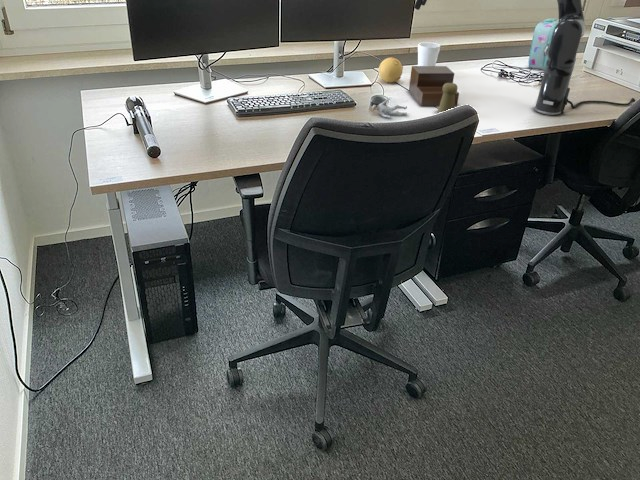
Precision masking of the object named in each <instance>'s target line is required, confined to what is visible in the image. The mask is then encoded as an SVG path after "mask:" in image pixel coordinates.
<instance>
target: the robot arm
mask: <svg viewBox="0 0 640 480" xmlns="http://www.w3.org/2000/svg"><path fill="white" fill-rule="evenodd" d="M427 1H428V0H416V1H415V4H414V6H413V9H415V10H417V11H418V10H420V9H421V7H422V6H423V7H424V6H425V5H426V4H427ZM556 3H557V8H558V9H557V10H558V19H559V22H558V24H557V25H556V27H555V29H554V31H553V35H552V39H551V43H550V47H549V51H548V60H547V64H546V68H545V70H544V72H543V76H542V79H541V84H540V88H539V91H538V96H537V99H536V102H535V105H534V111H535V112H536V113H539V114H542V115H547V116H558V115H562V114H564V111H565V108H566V106H567V105H568V104H570V107H571V108H572V109H577V108H578V107H579V106H581V105H582V104H591V103H592V104H608V105H613V106H621V107H622V106H625V107H626V106H629V105H632V103H633V102H635V101H636V99H635V98H634V97H632V98H631V99H630V101H628V102H625V103H624V102H623V103H621V102H615V101H614V102H613V101H609V100H608V101H607V100H582V101H579V102H577V103H576V104H575V105H574V103H573V101H571V100H569V98H568V97H569V94H570V91H571V88H570V87H569V85H570V82H571V78H572V75H573V72H574V68H575V64H576V61H577V54H578V49H579V46H580V43H581V39H582V38H583V37H584V35H585V33H586V21H585V16H584V11H583V4H582V0H556Z"/></svg>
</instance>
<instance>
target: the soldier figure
mask: <svg viewBox="0 0 640 480" xmlns="http://www.w3.org/2000/svg"><path fill="white" fill-rule="evenodd" d="M389 101H391V97H388V98H386V100H384V101H382V102H381V103H379V104H373V105H372V112H374V111H375V110H376V109H377V112H378V113H379V114H380V115H381V116H382V117H383V118H388V119H390V118H391V117H392V116H395V115H396V116H401V115H403V116H406V115H407V114H408V112H406V111H405V112H401V111H399V109H403V110H407V108H408V105H406V106H404V105H403V106H402V105H399V104H396V105H393V106H391V107H390V106H388V105H386V104H387V103H388V102H389Z"/></svg>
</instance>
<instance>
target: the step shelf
mask: <svg viewBox="0 0 640 480" xmlns="http://www.w3.org/2000/svg"><path fill="white" fill-rule="evenodd" d="M410 70H411V71H410V78H409V87H408V92H409V93H410V95H411V96H412V97H413V99H414V100H415V101H416V102H417V104H418V105H419V106H420V107H439V106H440V102H441V99H442V95H443V89H442V88H443V85H444V84H445V83H454V79H455V72H454V71H452V70H451V68H449V67H448V66H447V65H435V66H418V65H411V69H410ZM459 96H460V92H459V91H457V92H456V93H455V107H457V106H458V102H459Z"/></svg>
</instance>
